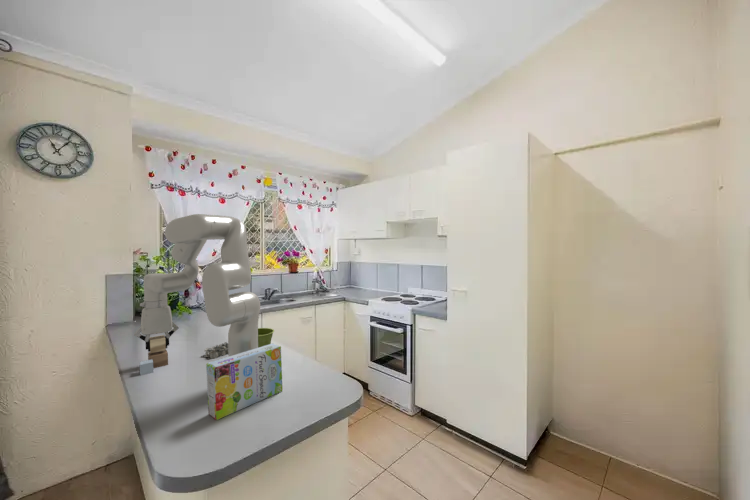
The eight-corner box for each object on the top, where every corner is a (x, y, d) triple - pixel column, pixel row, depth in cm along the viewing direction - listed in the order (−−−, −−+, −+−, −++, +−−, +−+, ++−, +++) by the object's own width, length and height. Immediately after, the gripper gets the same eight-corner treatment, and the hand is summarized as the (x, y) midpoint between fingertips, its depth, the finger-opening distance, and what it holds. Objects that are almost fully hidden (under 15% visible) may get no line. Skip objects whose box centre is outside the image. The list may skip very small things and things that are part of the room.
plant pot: (265, 364, 123) (264, 336, 123) (238, 362, 126) (237, 335, 125) (280, 353, 135) (279, 328, 135) (255, 352, 137) (254, 327, 137)
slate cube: (153, 372, 117) (153, 362, 117) (140, 375, 115) (139, 365, 115) (152, 369, 120) (152, 359, 120) (139, 372, 118) (139, 361, 118)
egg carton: (212, 360, 130) (211, 350, 129) (202, 356, 134) (202, 347, 134) (235, 352, 138) (235, 343, 138) (226, 349, 143) (226, 340, 142)
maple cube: (165, 350, 124) (165, 337, 124) (150, 353, 121) (150, 340, 121) (164, 346, 128) (164, 334, 128) (149, 349, 125) (149, 337, 125)
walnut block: (168, 365, 124) (167, 352, 124) (149, 369, 121) (149, 356, 120) (166, 360, 129) (165, 349, 129) (148, 364, 125) (147, 352, 125)
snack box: (273, 386, 105) (272, 342, 104) (283, 391, 101) (282, 345, 101) (207, 414, 88) (205, 362, 88) (216, 421, 85) (214, 367, 84)
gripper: (129, 308, 116) (130, 357, 116) (182, 302, 126) (183, 346, 127) (129, 305, 122) (130, 351, 122) (179, 300, 132) (181, 342, 133)
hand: (157, 348), depth 125 cm, fingers closed on maple cube, 5 cm apart
